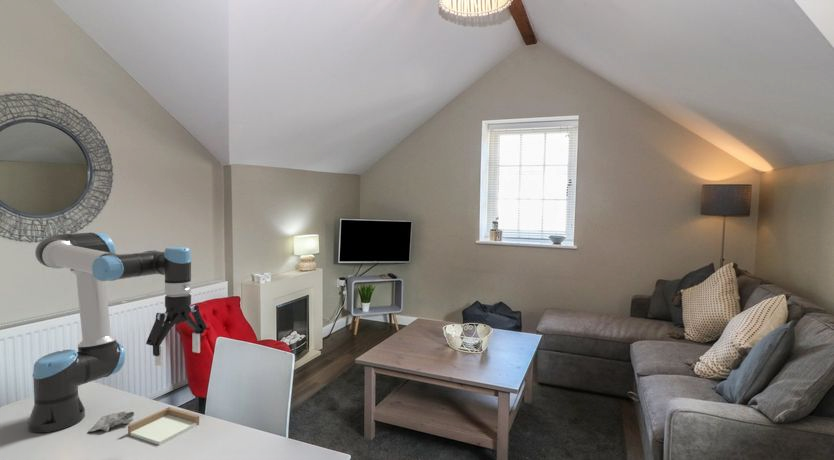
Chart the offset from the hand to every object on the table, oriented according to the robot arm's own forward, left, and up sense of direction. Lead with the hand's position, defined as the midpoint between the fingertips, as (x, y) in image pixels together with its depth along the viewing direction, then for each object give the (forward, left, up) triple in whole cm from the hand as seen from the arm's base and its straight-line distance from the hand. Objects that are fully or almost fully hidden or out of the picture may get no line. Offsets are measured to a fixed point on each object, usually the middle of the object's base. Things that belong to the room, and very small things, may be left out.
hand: (178, 358), depth 143 cm
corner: (-7, 0, -26) cm, 27 cm away
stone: (-23, -3, -27) cm, 35 cm away
